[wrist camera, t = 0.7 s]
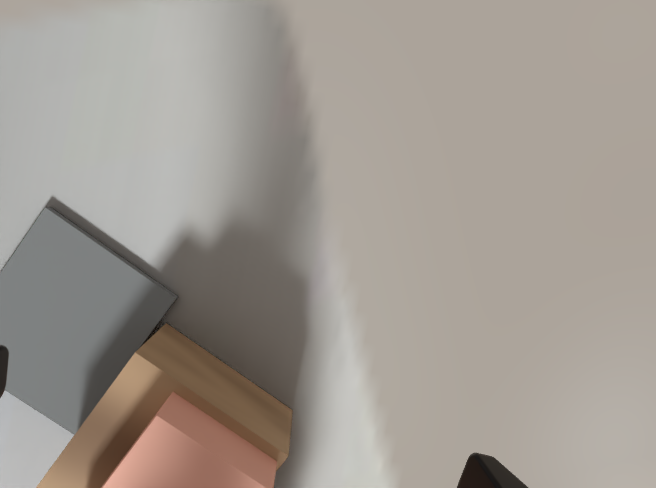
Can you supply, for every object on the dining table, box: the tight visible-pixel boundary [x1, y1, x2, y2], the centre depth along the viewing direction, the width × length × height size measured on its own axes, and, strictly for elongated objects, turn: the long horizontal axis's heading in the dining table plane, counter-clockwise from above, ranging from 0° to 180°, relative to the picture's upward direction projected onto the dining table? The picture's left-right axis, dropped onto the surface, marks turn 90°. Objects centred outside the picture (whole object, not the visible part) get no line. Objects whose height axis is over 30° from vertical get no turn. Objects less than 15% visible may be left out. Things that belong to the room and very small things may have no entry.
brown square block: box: [36, 323, 293, 488], centre depth 22 cm, size 8×8×4 cm
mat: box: [0, 207, 178, 435], centre depth 23 cm, size 9×8×1 cm
